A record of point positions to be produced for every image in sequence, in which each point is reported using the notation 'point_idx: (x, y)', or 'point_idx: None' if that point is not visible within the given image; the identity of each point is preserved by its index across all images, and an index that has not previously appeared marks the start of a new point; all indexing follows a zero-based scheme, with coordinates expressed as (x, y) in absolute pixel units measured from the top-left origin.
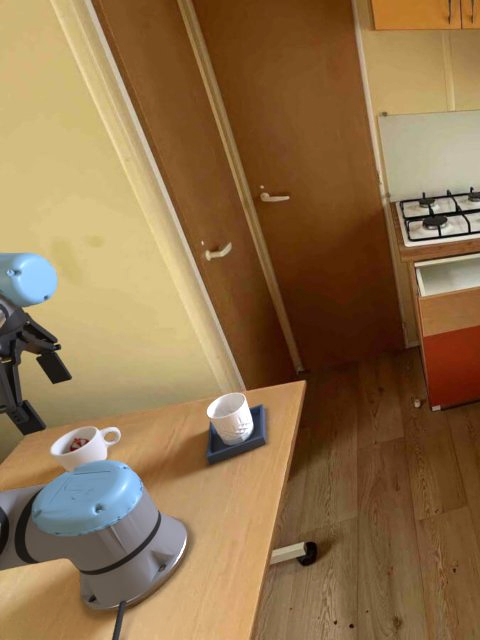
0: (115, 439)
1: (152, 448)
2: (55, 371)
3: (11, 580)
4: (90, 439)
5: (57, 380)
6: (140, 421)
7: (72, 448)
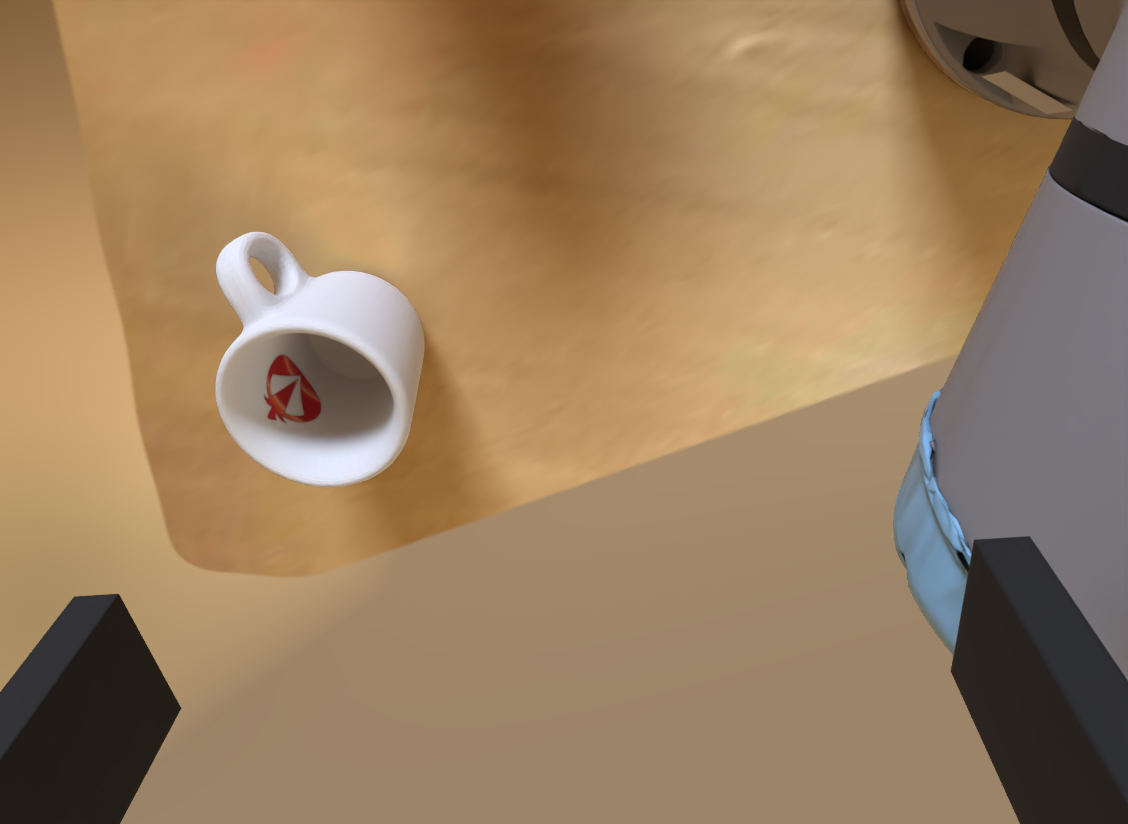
0: (271, 251)
1: (329, 67)
2: (55, 807)
3: (847, 385)
4: (270, 356)
5: (143, 703)
6: (114, 194)
7: (308, 411)
